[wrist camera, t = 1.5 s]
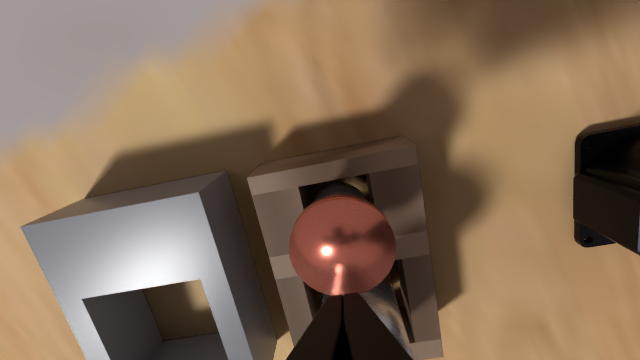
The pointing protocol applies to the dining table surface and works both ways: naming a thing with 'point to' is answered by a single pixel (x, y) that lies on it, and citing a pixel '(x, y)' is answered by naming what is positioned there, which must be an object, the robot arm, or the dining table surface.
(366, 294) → the peg
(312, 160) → the socket block
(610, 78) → the dining table surface
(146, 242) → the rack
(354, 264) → the pin
